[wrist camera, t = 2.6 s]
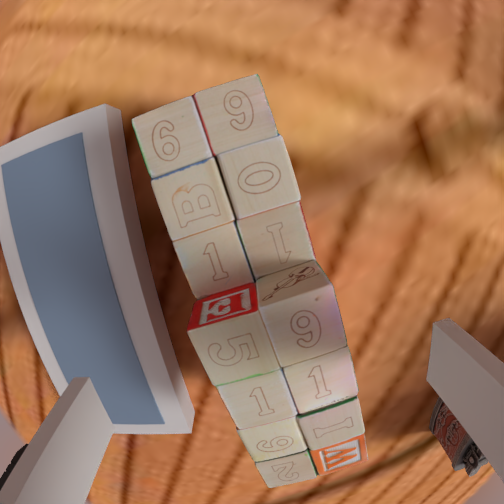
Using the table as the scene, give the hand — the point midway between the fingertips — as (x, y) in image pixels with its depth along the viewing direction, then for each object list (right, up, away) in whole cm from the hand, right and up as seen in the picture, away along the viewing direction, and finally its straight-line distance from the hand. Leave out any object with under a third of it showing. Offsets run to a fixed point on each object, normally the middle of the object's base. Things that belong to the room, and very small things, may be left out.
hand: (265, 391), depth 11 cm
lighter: (+22, -13, +19) cm, 32 cm away
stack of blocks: (0, +4, +14) cm, 15 cm away
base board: (-14, +2, +14) cm, 20 cm away
